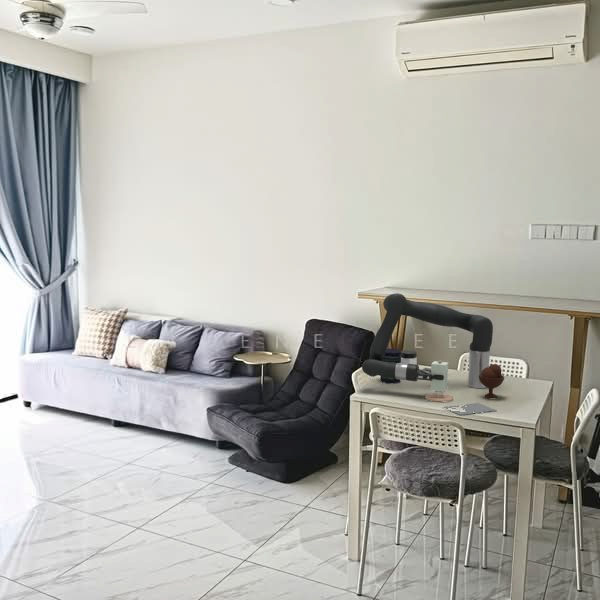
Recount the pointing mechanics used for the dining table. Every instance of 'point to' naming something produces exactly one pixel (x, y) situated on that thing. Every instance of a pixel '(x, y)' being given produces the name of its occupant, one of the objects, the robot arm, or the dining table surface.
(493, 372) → the ice cream bowl
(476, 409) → the mat
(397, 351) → the storage jar
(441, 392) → the candle
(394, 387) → the dining table surface
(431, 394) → the saucer
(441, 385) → the tall green carton
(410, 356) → the jar
